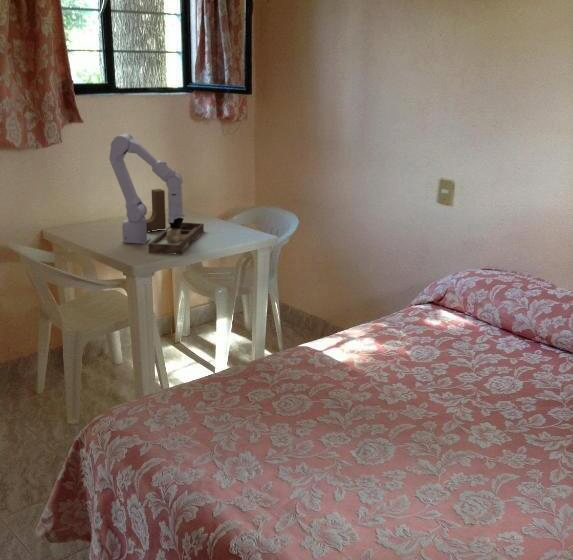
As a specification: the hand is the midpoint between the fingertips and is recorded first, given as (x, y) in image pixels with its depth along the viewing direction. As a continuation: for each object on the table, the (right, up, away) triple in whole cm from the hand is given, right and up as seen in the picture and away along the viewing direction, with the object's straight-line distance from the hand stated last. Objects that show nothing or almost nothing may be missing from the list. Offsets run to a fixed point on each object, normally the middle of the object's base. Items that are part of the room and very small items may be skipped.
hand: (176, 235), depth 275 cm
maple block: (0, -2, -3) cm, 4 cm away
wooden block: (-13, +4, +19) cm, 23 cm away
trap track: (0, -2, +3) cm, 4 cm away
